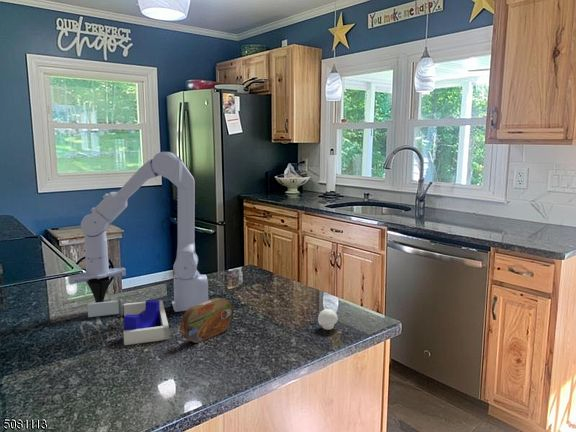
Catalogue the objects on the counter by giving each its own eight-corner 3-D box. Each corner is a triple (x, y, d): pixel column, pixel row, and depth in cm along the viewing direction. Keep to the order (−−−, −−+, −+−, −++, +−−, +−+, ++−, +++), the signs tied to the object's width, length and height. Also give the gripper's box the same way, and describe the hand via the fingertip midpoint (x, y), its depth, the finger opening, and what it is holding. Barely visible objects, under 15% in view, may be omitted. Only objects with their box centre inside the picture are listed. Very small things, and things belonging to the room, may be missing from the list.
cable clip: (144, 321, 114) (143, 299, 113) (160, 322, 113) (159, 300, 112) (119, 340, 102) (117, 316, 101) (137, 342, 102) (135, 317, 101)
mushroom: (323, 333, 107) (324, 314, 106) (314, 326, 111) (314, 307, 110) (341, 330, 109) (341, 311, 108) (331, 323, 113) (331, 305, 112)
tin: (187, 348, 98) (186, 312, 97) (178, 344, 100) (177, 309, 99) (234, 327, 110) (234, 295, 109) (225, 324, 112) (225, 292, 111)
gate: (122, 314, 119) (121, 299, 118) (88, 318, 116) (87, 303, 115) (122, 312, 119) (122, 298, 119) (88, 316, 116) (87, 302, 116)
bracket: (162, 309, 122) (162, 299, 121) (169, 339, 103) (168, 327, 102) (124, 314, 118) (123, 303, 118) (124, 345, 99) (123, 332, 99)
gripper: (71, 263, 111) (75, 314, 113) (128, 255, 120) (130, 302, 122) (65, 258, 117) (68, 307, 119) (120, 251, 126) (122, 296, 128)
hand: (99, 304), depth 121 cm, fingers closed
